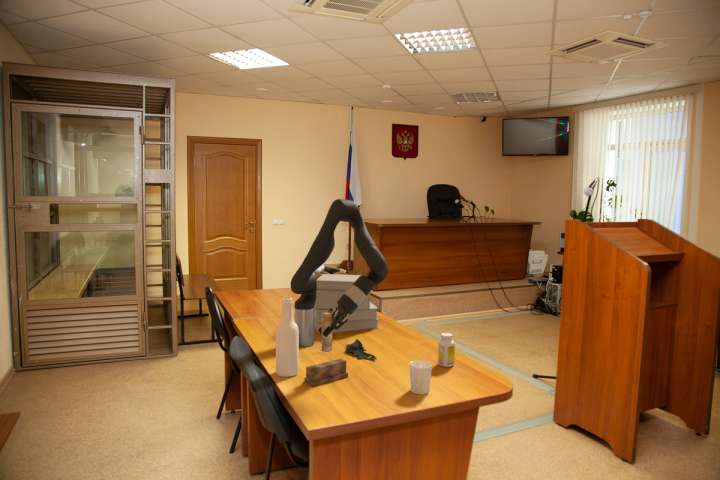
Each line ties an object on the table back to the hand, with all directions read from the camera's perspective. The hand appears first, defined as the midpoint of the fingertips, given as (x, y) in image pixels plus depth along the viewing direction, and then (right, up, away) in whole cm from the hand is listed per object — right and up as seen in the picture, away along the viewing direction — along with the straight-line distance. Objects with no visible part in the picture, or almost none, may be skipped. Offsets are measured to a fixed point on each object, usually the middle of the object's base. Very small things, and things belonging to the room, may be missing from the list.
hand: (322, 333), depth 186 cm
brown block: (+1, -18, +3) cm, 18 cm away
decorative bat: (+13, -15, +35) cm, 41 cm away
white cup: (+36, -19, -7) cm, 41 cm away
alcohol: (-14, -17, +8) cm, 24 cm away
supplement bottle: (+50, -17, +20) cm, 56 cm away
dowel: (+2, -6, +2) cm, 7 cm away
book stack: (+5, -10, +77) cm, 78 cm away
